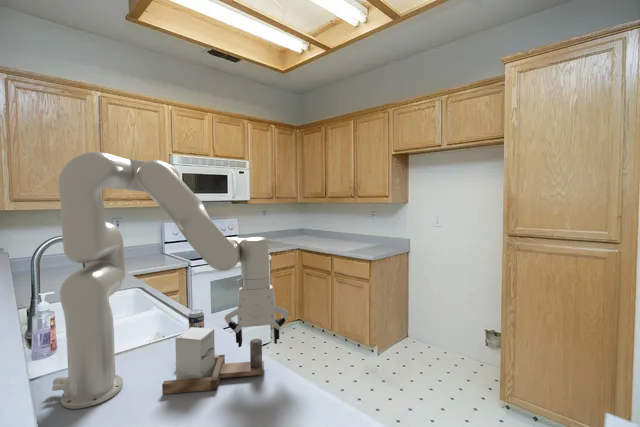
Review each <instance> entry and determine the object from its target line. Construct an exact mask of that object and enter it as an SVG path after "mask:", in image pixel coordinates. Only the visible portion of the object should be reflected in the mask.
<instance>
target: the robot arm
mask: <svg viewBox="0 0 640 427" xmlns="http://www.w3.org/2000/svg"><path fill="white" fill-rule="evenodd" d="M103 189H116V190H117V189H118V190H127V191H133V192H134V191H135V192H144V193H146V194H147V195H148V196H149V197H150V199H152V201H153V202H154V203H155V204H156V205H157V206H158V207H159V208H160V209H161V210H162V211H163V212H164V213H165V214H166V216H168V218H169V219H170V220H171V221H172V222H173V223H174V225H175V226H176V227H177V229H178V230H179V232H180V233H181V234H182V236H183V237H184V238H185V240H186V241H187V242H188V244H189V245H190V246H191V247H192V248H193V250H194V251H195V252H196V253H197V254H198V255H199V256H200V258H201V259H203V260H204V261H205V262H206V264H208V266H209V267H211V268H212V269H214V270H215V271H218V272H228V271H230V270H232V269H234V268H235V267H236V266H237V264H238V263H240V272H241V276H240V278H239V279H238V278H237V279H236V280H235V284H236V285H240V286H241V287H239V289H238V294H237V295H238V296H237V307H236V309H234V310H232V311H231V312H229V313H227V314H225V316H224V321H225V322H226V324H227V325H228V327H229V328H230V329H231V330H232V331H233V332H234V333H235V343H236V344H237V345H238V348H241V347H242V345H243V330H242V328H250V327H261V326H271V325H272V326H273V338H274V339H273V340H274V342H273V344H275V345H277V344H278V340H280V329H281V327H282V326H283V325H284V324H285V323H286V321H287V318H288V316H289V315H290V312H289V310H288V309H285V308H282V307H280V306H278V305H277V304H276V298H275V291H274V288H273V285H272V284H271V283H270V282H271V280H270V279H271V278H270V256H269V255H270V254H269V253H270V252H269V241H268V239H267V238H266V237H264V236H263V237H262V236H251V237H250V236H249V237H243V238H242V237H229V236H226V235H224V233H222V231H221V230H220V229H219V228H218V227H217V225H216V224H215V223H214V221H213V220H212V219H211V217H210V216H209V214H208V212H207V209H206V207H205V204H204V203H203V201H202V200H201V199H200V198H199V197H198V196H197V195H196V194H195V193H194V192H193V190H192V189H190V187H189V186H188V185H187V184H186V183H185V182H184V181H183V179H182V178H181V177H180V173H179V171H178V170H177V169H176V168H175V167H174V166H173V165H172V164H169V163H167V162H165V161H162V160H158V159H153V160H148V161H145V160H139V159H130V158H125V157H121V156H118V155H114V154H112V153H108V152H102V151H90V152H85V153H81V154H79V155H76V156H74V157H73V158H72V159H70V160H69V161H68V162H67V163H66V164H65V165H64V166H63V168H62V169H61V172H60V174H59V178H58V192H59V193H58V194H59V202H60V214H61V215H60V216H61V217H60V219H61V232H62V234H61V235H62V246H63V252H64V255H65V256H66V258H67V259H68V260H69V261H72V263H77V264H84V267H83V268H80V269H78V270H76V271H75V272H73V273H71V274H70V275H69V276H67V278H65V280H64V281H63V283H62V284H61V286H60V289H59V290H60V291H59V299H60V300H59V301H60V304H61V308H62V312H63V316H64V321H65V322H64V323H65V324H64V325H65V338H66V355H67V357H66V358H67V374H68V375H67V377H65V376H62V377H61V376H59V377H55V378H54V379H53V382H52V385H53V386H52V387H51V391H54V392H55V391H60V390H61V391H63V393H62V395H61V396H60V404H61V405H62V407H64V408H67V409H72V410H73V409H74V410H76V409H84V408H90V407H93V406H96V405H99V404H101V403H103V402H106V401H107V400H109V399H111V398H112V397H115V395H116V394H118V393H119V392H120V391H121V389H123V386H124V381H123V380H124V379H123V378H122V377H121V376H120V375H117V374H116V352H115V348H116V347H115V326H114V316H113V315H114V314H113V310H112V307H111V303H110V297H111V296H112V295H114V294H115V293H117V292H118V291H119V290H120V289H121V288H122V286H123V285H124V282H125V277H126V266H125V264H126V263H125V262H126V261H125V251H124V250H125V249H124V247H125V246H124V239H123V235H122V233H121V231H120V230H119V228H118V227H117V226H116V225H114V224H112V223H111V222H107V221H106V215H105V212H106V209H105V203H104V200H103V197H102V193H101V192H102V190H103ZM277 313H278V314H280V315H281V317H280V318H279V319H277ZM236 316H237V323H236V322H235V321H233V318H235V317H236Z"/></svg>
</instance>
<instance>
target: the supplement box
mask: <svg viewBox="0 0 640 427" xmlns="http://www.w3.org/2000/svg"><path fill="white" fill-rule="evenodd" d="M174 339H175V380H181V379H193V378H206V377H212V375H213V372H214V369H215V355H216V354H215V353H216V352H215V350H216V349H215V348H216V347H215V328H208V327H204V328H197V327H191V328H189V327H188V328H187V330H185V331H184V332H182V333H181V334H179V335H178V336H176V337H175V338H174Z"/></svg>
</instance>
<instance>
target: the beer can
mask: <svg viewBox="0 0 640 427" xmlns="http://www.w3.org/2000/svg"><path fill="white" fill-rule="evenodd" d="M187 317H188V329H189V328H191V327H197V328H205V313H204V311H203V309H193V310H191V311H189V313H188V315H187Z"/></svg>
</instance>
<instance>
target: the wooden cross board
mask: <svg viewBox="0 0 640 427" xmlns="http://www.w3.org/2000/svg"><path fill="white" fill-rule="evenodd" d="M249 347H250V348H249V350H250V351H249V353H250V357H249V359H250V361H244V362H243V361H242V362H241V361H240V362H232V363H231V362H229V363H226V362H225V361H226V355H225V354H215V369H214V372H213V374H212V375H211V376H210V377H206V378H193V379H181V380H176V379H172V380H164V381H163V382H162V384H161V386H162V392H161V393H162V395H167V394H168V395H169V394H178V393H179V394H181V393H191V392H203V391H212V390H214V391H215V390H218V387H219V383H220V380H221V379H222V378H235V377H248V376H250V377H251V376H260V375H261V376H262V375H264V370H265V360H263V340H262V339H261V338H253V339H251V340H250V341H249Z"/></svg>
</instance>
